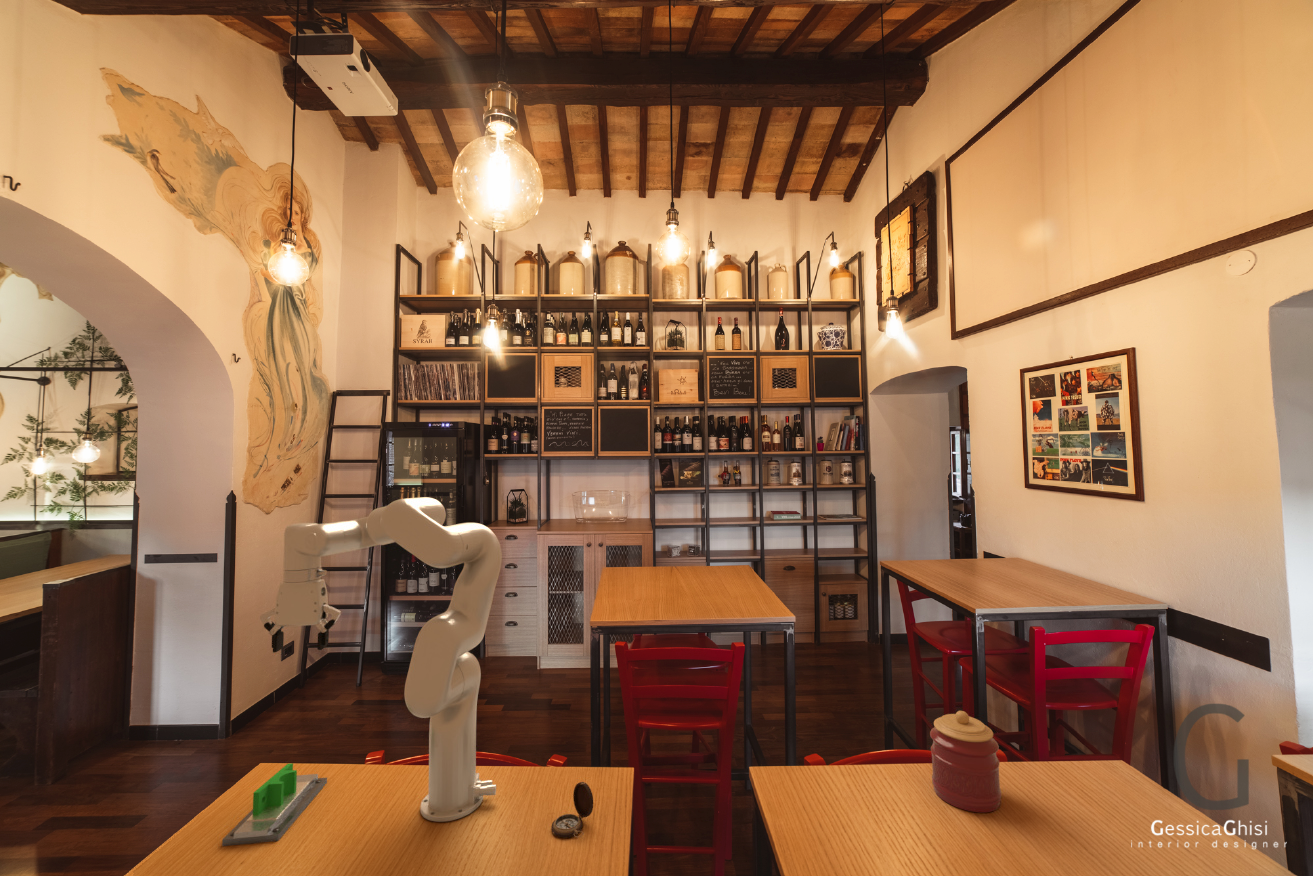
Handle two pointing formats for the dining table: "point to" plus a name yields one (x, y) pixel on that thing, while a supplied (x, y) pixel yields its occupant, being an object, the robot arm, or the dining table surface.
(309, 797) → the grey framed panel
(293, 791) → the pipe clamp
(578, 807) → the compass
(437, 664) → the robot arm
